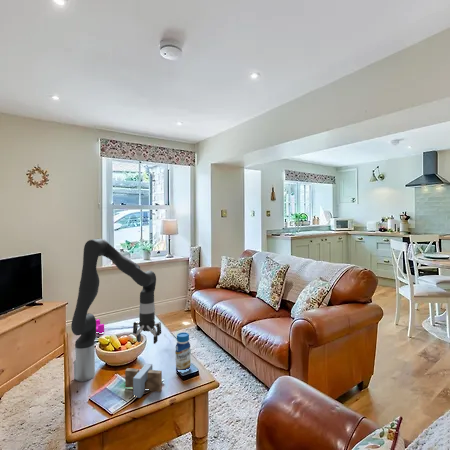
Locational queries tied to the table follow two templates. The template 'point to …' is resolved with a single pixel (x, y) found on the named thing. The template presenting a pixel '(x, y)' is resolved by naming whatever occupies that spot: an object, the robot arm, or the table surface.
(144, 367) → the grey block
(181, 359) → the beverage bottle
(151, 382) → the u-shaped brown bracket
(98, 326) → the toy block
